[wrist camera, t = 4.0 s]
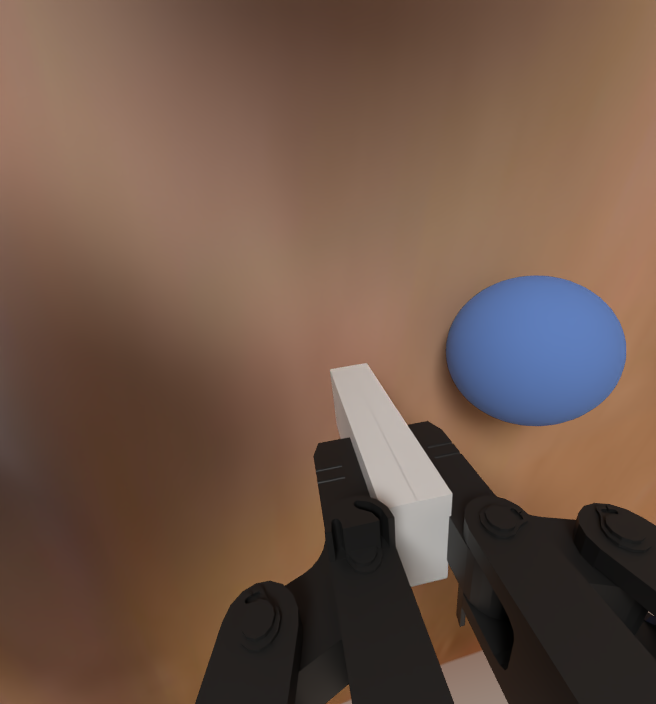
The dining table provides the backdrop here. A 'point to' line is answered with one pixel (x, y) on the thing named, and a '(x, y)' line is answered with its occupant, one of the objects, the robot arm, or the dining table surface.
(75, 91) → the dining table surface
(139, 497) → the dining table surface
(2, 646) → the dining table surface
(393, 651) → the robot arm
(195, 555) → the dining table surface
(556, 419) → the ball
